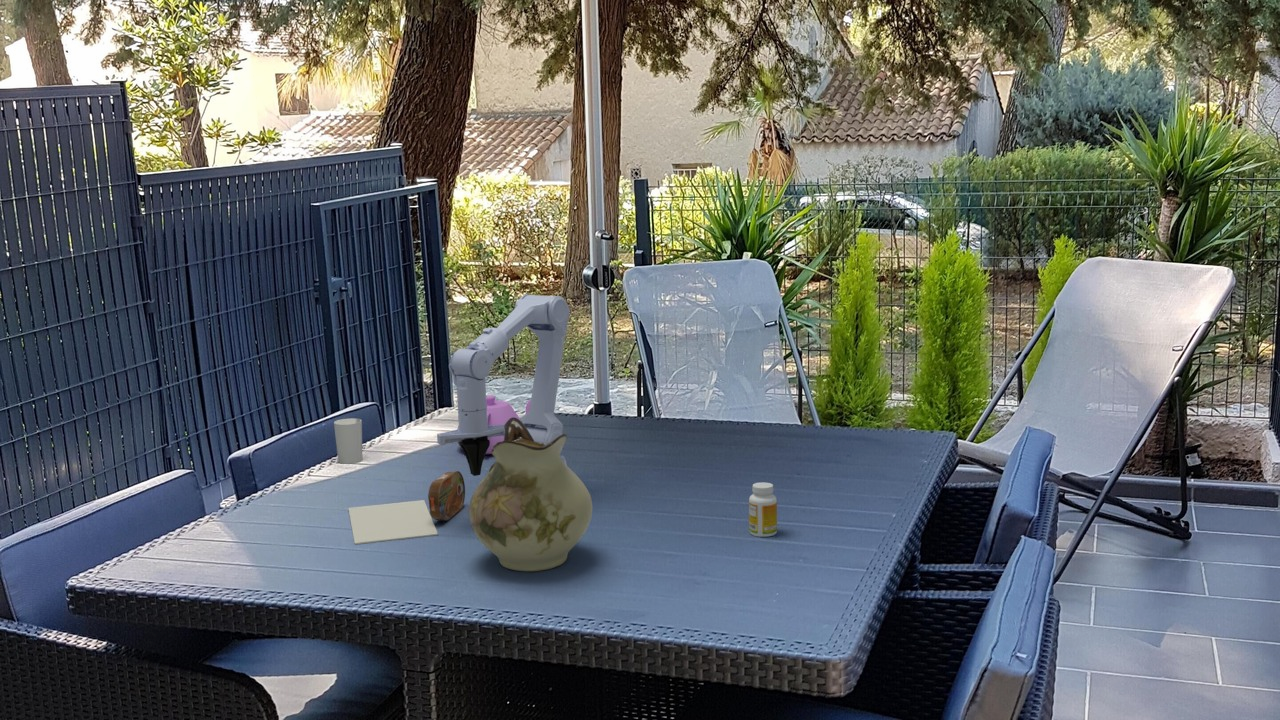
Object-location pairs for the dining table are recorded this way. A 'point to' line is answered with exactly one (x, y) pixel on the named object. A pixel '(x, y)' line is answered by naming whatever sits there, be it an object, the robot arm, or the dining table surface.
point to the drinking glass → (348, 440)
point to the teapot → (499, 416)
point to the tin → (446, 495)
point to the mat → (391, 522)
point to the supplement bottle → (762, 510)
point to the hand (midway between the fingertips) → (475, 474)
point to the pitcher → (529, 503)
